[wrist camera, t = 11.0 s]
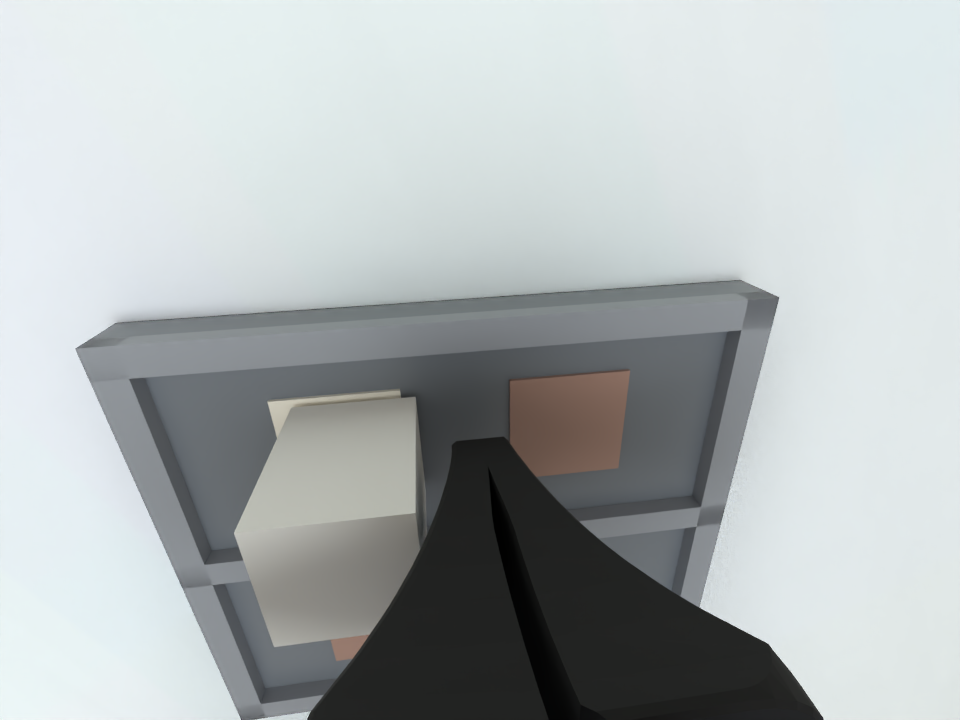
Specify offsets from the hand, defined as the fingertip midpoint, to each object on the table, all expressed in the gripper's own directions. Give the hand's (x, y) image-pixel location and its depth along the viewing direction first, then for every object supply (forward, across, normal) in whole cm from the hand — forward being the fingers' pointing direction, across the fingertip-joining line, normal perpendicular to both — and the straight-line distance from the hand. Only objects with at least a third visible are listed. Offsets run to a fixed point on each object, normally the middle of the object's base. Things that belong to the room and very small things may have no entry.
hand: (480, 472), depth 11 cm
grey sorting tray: (+3, 0, +4) cm, 4 cm away
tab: (+1, +3, 0) cm, 3 cm away
